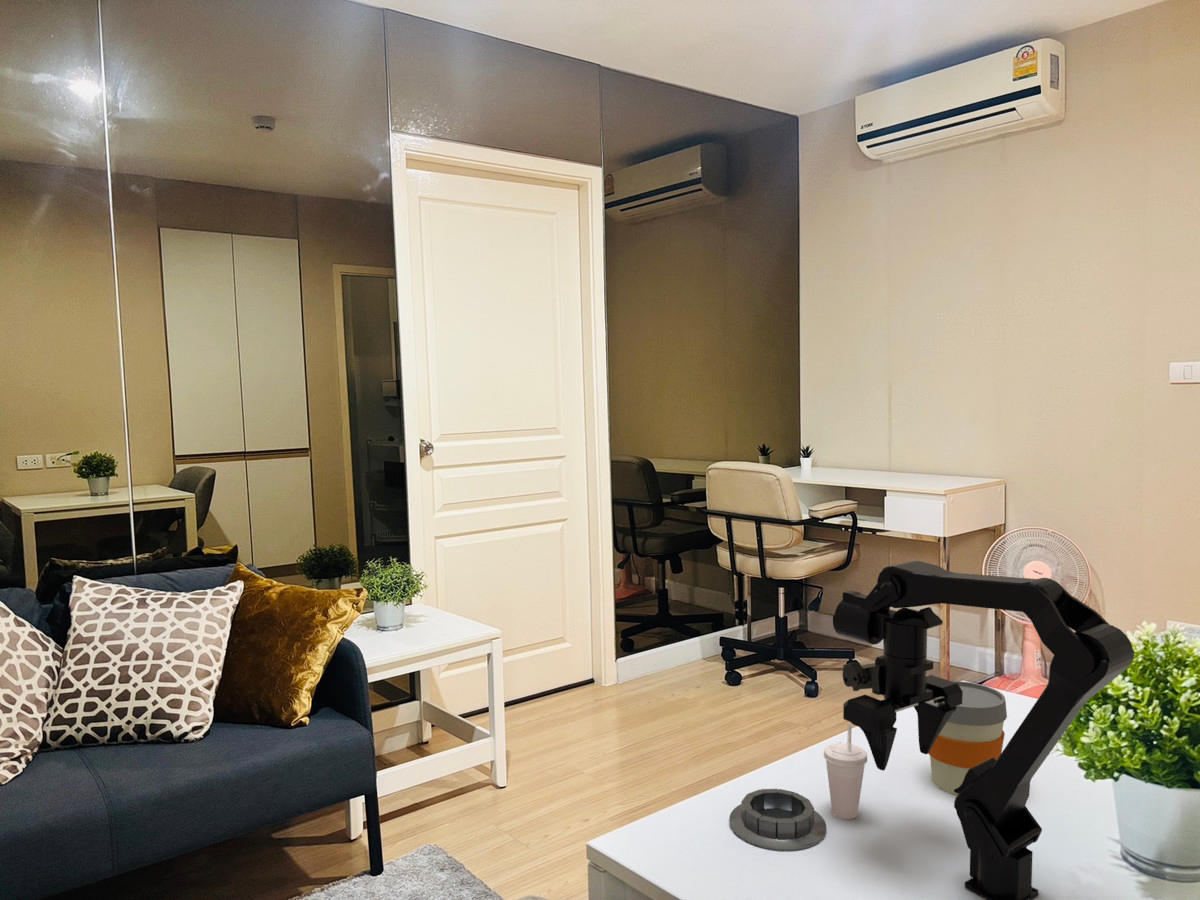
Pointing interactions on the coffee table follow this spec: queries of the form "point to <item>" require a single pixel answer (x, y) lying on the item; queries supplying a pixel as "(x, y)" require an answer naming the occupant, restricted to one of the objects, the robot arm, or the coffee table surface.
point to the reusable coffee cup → (968, 735)
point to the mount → (777, 820)
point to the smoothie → (845, 776)
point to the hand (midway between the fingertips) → (902, 761)
